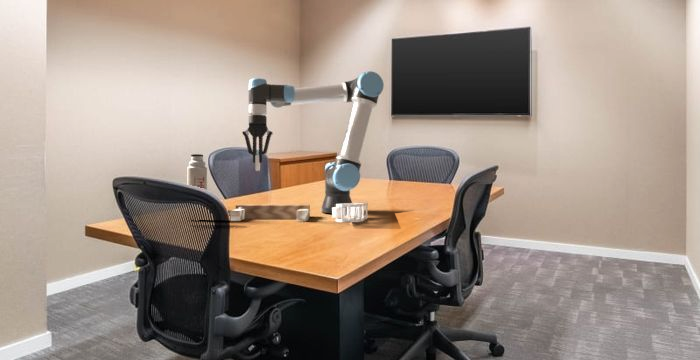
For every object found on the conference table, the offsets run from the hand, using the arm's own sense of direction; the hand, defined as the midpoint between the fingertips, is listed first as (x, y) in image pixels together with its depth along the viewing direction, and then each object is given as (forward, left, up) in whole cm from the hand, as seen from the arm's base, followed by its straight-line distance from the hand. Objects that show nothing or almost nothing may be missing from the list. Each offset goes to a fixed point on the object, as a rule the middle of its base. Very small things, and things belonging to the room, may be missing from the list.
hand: (257, 170), depth 219 cm
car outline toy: (-33, +23, -22) cm, 46 cm away
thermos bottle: (+22, -13, -21) cm, 33 cm away
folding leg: (+4, -8, -21) cm, 23 cm away
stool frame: (-9, -4, -21) cm, 23 cm away
